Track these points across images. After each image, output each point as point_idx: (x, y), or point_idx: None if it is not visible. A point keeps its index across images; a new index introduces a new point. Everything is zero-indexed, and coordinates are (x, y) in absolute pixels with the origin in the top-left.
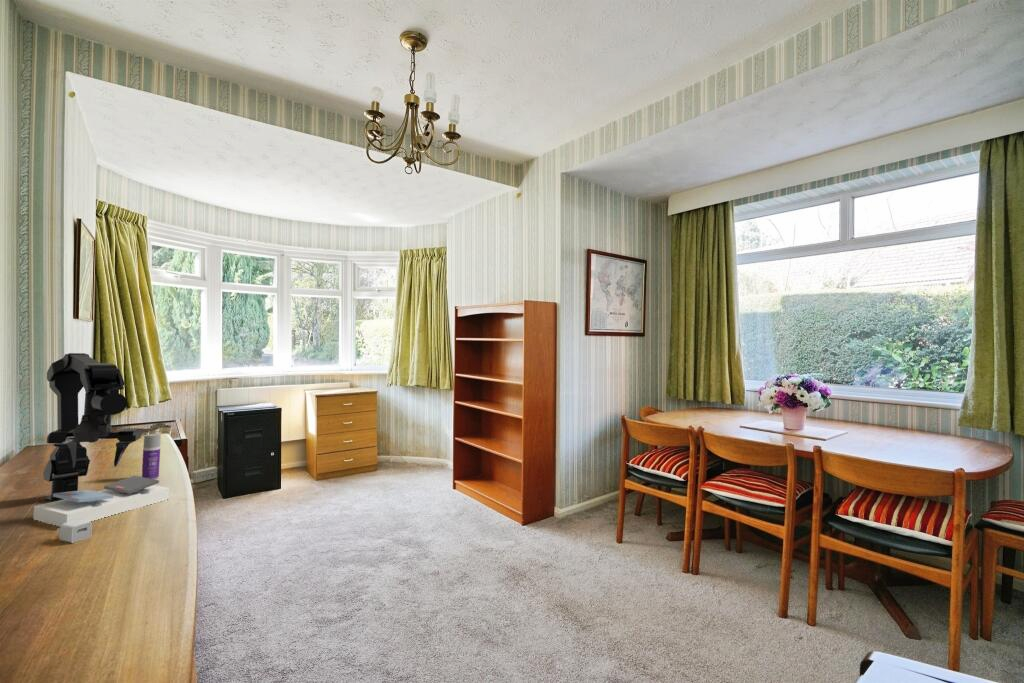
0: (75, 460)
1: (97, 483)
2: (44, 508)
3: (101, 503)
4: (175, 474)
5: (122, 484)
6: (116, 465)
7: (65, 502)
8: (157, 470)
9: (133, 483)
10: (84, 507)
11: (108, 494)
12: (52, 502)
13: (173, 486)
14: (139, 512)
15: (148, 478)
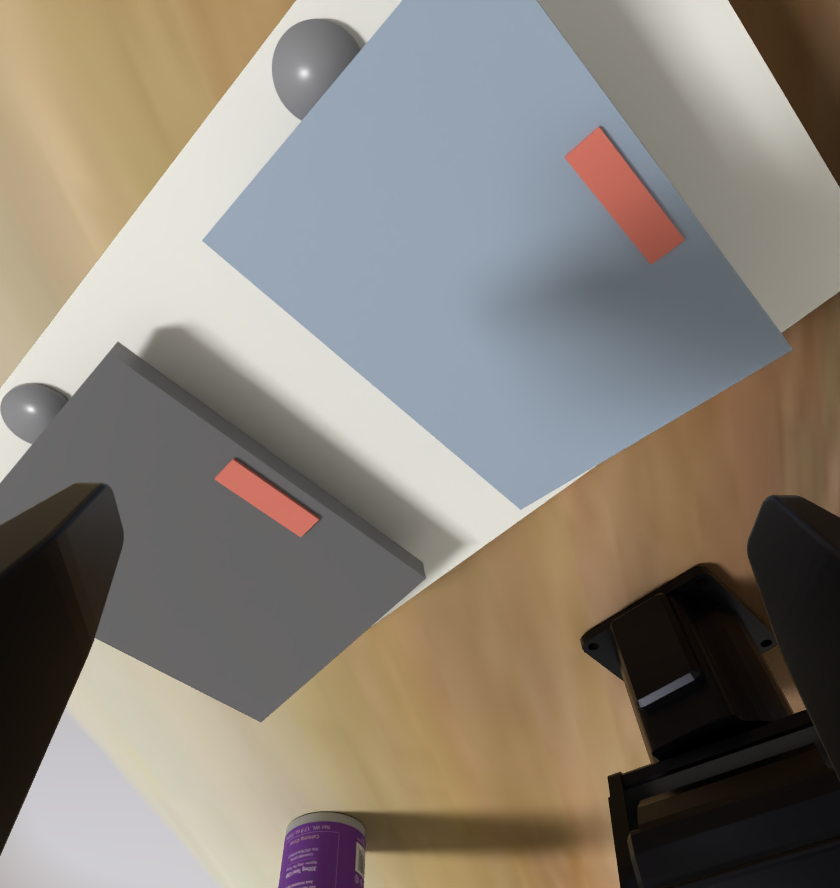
0: (796, 661)
1: (561, 811)
2: (801, 136)
3: None
4: (223, 863)
5: (275, 565)
6: (71, 500)
7: None
8: (280, 879)
9: (176, 556)
10: None
11: (269, 277)
12: None
13: (120, 704)
14: (15, 147)
15: None
